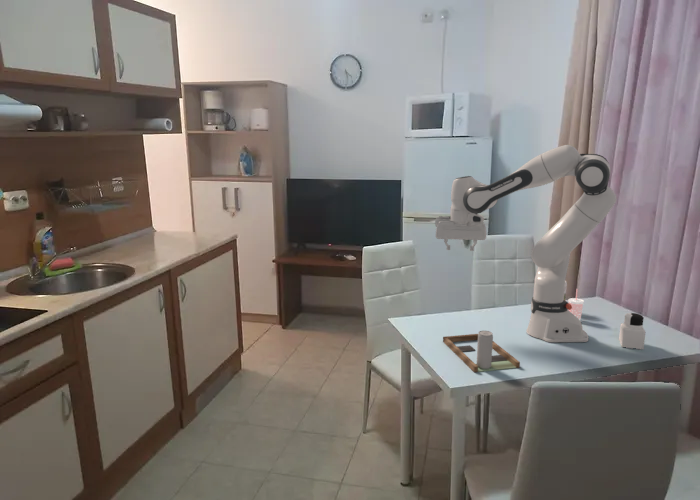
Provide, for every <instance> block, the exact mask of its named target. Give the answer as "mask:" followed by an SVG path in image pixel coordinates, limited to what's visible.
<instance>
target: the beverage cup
mask: <svg viewBox="0 0 700 500" xmlns="http://www.w3.org/2000/svg"><path fill="white" fill-rule="evenodd" d="M578 290H579V289H578V288H576V292H575V297H572V298H571V297H570V298H568V299H567V302H568V303H569V304H571V306H572V309H571V310H569V311H570V312H571V313H572V314H574V315H575V316H576V317H577V318H578V319H579V320H580V321H581V319H582V313H583V308H584V307H583V306H584V304H585V300H584V299H581V298H578Z"/></svg>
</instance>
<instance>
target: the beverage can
mask: <svg viewBox="0 0 700 500" xmlns="http://www.w3.org/2000/svg"><path fill="white" fill-rule="evenodd" d="M477 334H478V340H477V345H476V346H477V347H476V348H477V349H476V364H477V366H478V367H479V368H481V369H489V368H490V367H491V362H492V356H493V349H492V344H493V341H494V340H493V339H494V335H493V332H491V330H479V331H478V333H477Z"/></svg>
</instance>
